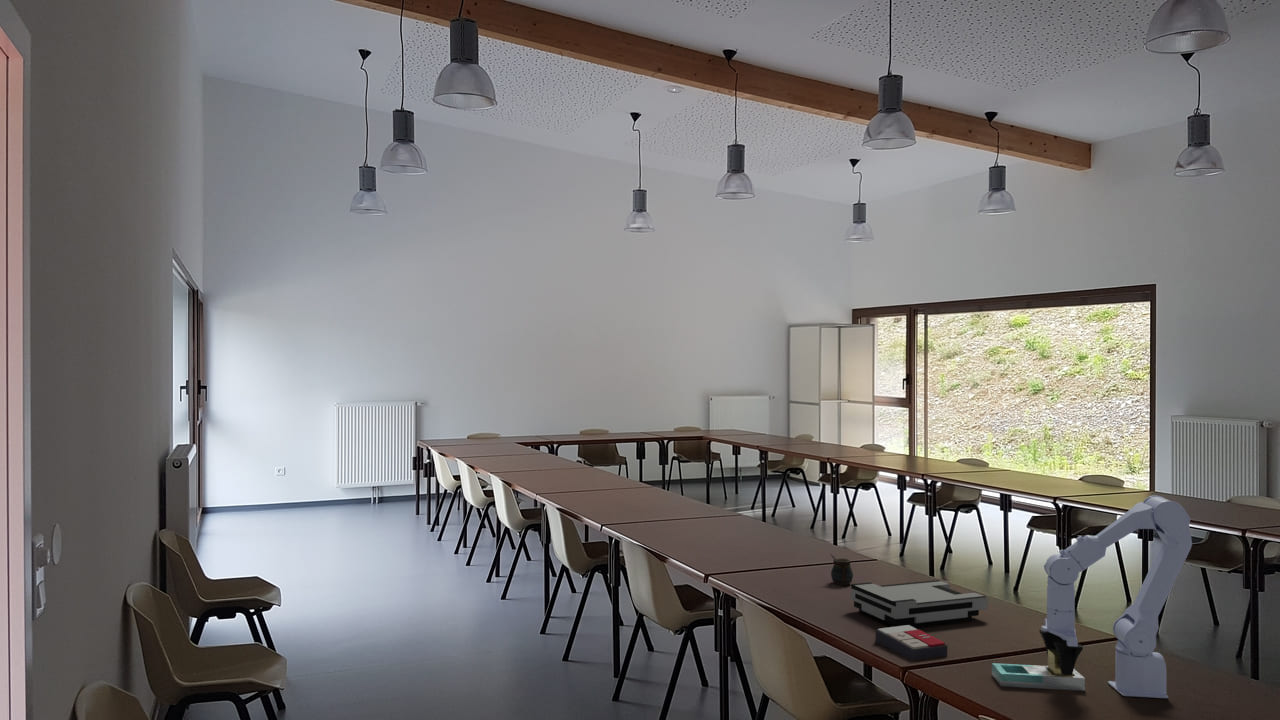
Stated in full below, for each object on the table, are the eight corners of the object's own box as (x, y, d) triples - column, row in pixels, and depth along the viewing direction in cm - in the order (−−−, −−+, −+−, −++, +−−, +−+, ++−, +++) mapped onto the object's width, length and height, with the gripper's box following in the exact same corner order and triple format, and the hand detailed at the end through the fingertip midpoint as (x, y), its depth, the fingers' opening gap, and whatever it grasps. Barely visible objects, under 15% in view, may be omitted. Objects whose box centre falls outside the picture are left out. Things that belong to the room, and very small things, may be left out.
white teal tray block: (1072, 679, 195) (1072, 667, 195) (1084, 690, 188) (1084, 678, 188) (991, 675, 197) (992, 663, 197) (1001, 686, 190) (1001, 673, 190)
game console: (987, 621, 241) (987, 592, 241) (895, 632, 230) (896, 602, 230) (937, 602, 260) (938, 576, 260) (851, 611, 249) (851, 584, 249)
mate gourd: (855, 586, 277) (855, 556, 277) (832, 586, 277) (832, 556, 277) (850, 581, 284) (850, 551, 285) (828, 580, 285) (828, 551, 285)
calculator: (913, 647, 206) (875, 626, 220) (912, 664, 207) (874, 642, 220) (948, 642, 210) (909, 622, 224) (947, 659, 211) (908, 638, 224)
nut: (1065, 676, 194) (1066, 649, 194) (1072, 682, 190) (1073, 655, 190) (1047, 675, 194) (1048, 649, 194) (1054, 681, 190) (1054, 654, 190)
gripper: (1031, 599, 200) (1031, 656, 200) (1054, 617, 185) (1053, 678, 185) (1062, 600, 199) (1062, 658, 199) (1087, 618, 185) (1087, 680, 184)
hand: (1060, 668), depth 192 cm, fingers open, 7 cm apart
